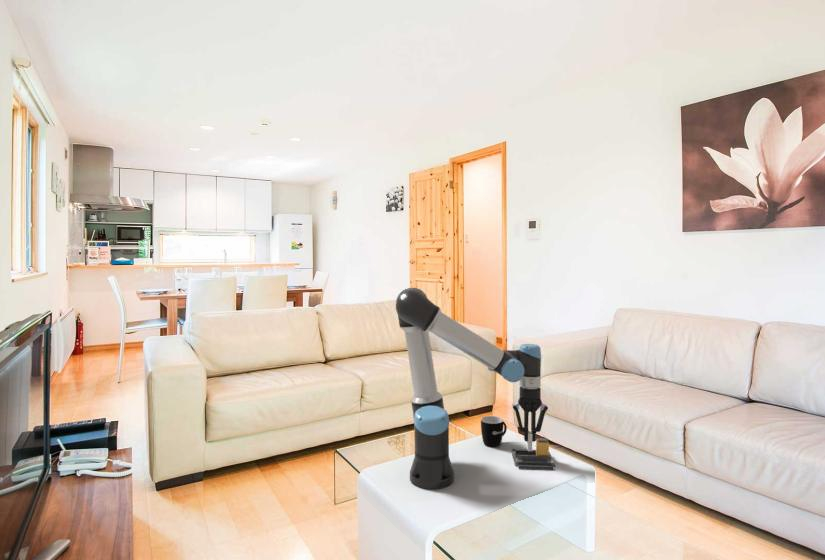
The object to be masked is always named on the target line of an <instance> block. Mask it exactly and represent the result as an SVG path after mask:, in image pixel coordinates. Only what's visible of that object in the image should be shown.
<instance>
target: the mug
mask: <svg viewBox="0 0 825 560" xmlns="http://www.w3.org/2000/svg"><path fill="white" fill-rule="evenodd" d="M480 428H481V429H480V430H481V431H480V432H481V438H482V442H483V445H484V446H486V447H488V448H497V447H499V446H500V445H501V443H502V440H503V437H504V436H505V434H506V433H507V424H506V423H505V422H504V419H503V417H500V416H495V415H487V416H483V417H481V418H480Z"/></svg>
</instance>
